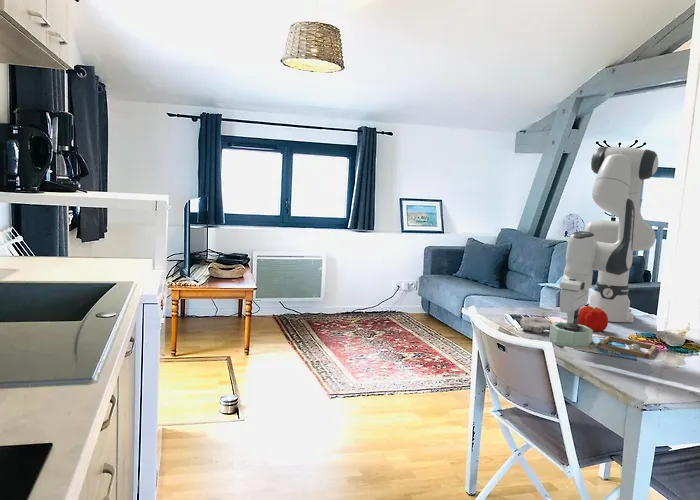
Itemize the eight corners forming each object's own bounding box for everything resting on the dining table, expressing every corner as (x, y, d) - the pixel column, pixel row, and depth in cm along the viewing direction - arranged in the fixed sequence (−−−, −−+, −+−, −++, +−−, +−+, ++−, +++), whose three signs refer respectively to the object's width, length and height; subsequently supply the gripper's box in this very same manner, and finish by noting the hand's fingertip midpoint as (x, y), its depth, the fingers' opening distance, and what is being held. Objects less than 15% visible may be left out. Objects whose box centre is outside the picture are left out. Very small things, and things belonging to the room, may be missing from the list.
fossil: (553, 327, 196) (527, 314, 197) (544, 343, 198) (518, 329, 199) (550, 319, 204) (525, 306, 205) (541, 334, 206) (516, 321, 207)
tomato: (575, 325, 212) (578, 303, 211) (607, 330, 207) (610, 307, 206) (572, 331, 203) (575, 308, 202) (605, 337, 198) (608, 313, 197)
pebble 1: (641, 342, 180) (630, 340, 182) (637, 349, 178) (627, 347, 180) (642, 350, 181) (631, 348, 184) (638, 356, 180) (628, 354, 182)
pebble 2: (639, 354, 179) (628, 350, 180) (642, 347, 177) (631, 343, 179) (637, 360, 177) (626, 356, 178) (640, 353, 175) (629, 348, 176)
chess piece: (557, 334, 190) (561, 299, 188) (571, 333, 192) (575, 299, 190) (569, 339, 184) (573, 304, 182) (584, 338, 186) (588, 303, 184)
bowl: (556, 335, 197) (558, 320, 196) (593, 343, 189) (595, 327, 189) (545, 343, 187) (546, 327, 186) (583, 352, 180) (585, 335, 179)
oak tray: (606, 342, 192) (607, 335, 192) (655, 352, 183) (656, 345, 183) (596, 350, 182) (597, 343, 181) (648, 362, 173) (649, 354, 172)
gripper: (576, 275, 195) (571, 314, 197) (558, 283, 179) (553, 325, 181) (595, 278, 191) (590, 317, 193) (578, 286, 175) (573, 329, 177)
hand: (572, 321), depth 187 cm, fingers closed on chess piece, 3 cm apart
